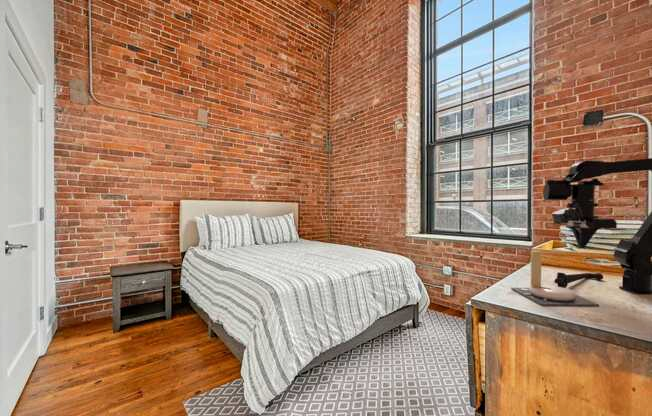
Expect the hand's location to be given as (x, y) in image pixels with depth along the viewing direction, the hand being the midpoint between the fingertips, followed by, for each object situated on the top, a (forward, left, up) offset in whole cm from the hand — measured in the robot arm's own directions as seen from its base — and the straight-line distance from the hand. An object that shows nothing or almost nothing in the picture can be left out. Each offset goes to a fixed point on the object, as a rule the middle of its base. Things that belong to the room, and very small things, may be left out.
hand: (581, 247), depth 98 cm
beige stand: (+16, +10, -13) cm, 23 cm away
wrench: (-1, -2, -13) cm, 13 cm away
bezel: (+16, +10, -13) cm, 23 cm away
